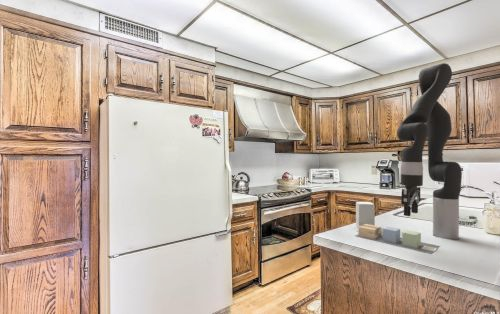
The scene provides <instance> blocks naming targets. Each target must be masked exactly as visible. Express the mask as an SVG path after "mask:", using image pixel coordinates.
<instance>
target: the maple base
mask: <svg viewBox="0 0 500 314" xmlns="http://www.w3.org/2000/svg"><path fill="white" fill-rule="evenodd" d="M358 234H359V236H363V237H367V238H371V239H376V238H378V237H380V236H381V234H382V226H378V225H375V226H374V225H369V224H364V225H361V226H359V229H358Z"/></svg>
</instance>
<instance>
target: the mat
mask: <svg viewBox="0 0 500 314" xmlns="http://www.w3.org/2000/svg"><path fill="white" fill-rule="evenodd" d="M354 237H356V238H362V239H365V240H369V241H374V242H378V243H382V244H386V245H391V246H393V247H398V248H404V249H408V250H412V251H415V252H419V253H424V254H428V255H432V254H433V253H434V252H437V250H438V249H439V248H440V247H441V245H436V244H432V243H427V242H423V241H421V245H420V246H419V247H418V248H413V247H409V246H405V245H402V237H400V241H399V242H397V243H392V242H387V241H383V233H381V236H380V237H378V238H376V239H371V238H367V237H363V236H359V233H358V234H356V235H354ZM424 246H428V247H433V248H437V250H435V251H434V252H433V251H428V250H424V249H422V247H424Z"/></svg>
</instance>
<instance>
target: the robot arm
mask: <svg viewBox="0 0 500 314" xmlns="http://www.w3.org/2000/svg"><path fill="white" fill-rule="evenodd" d="M452 77H453V71H452V67H451V65H449V64H448V63H446V62H444V63H443V62H442V63H437V64H435V65H432V66H428V67H425V68H422V69H421V70H420V71H419V74H418V84H419V90H420V94H421V95H420V96H419V98H417V99H416V101H414V104H413V105H412V107H411V110H410V111H409V114H408V115H407V116H406V117H405V118H404V119H403V121H402V122H401V123H400V124H399V126H398V128H397V131H396V137H397V138H398V140H399V141H402V142H413V144H412V145H410V146H405V147H403V148H402V150H401V163H400V164H401V166H400V185H401V186H405V188H402V189H401V201H400V204H401V205H402V206H403V216H406V217H410V216H412V215H411V213H412V214H418V213H419V205H420V202H421V187H422V186H424V183H423V182H424V181H423V180H424V166H423V151H424V147H425V146H426V145H425V144H426V142H427V152H428V153H427V154H428V155H427V156H428V157H427V161H428V162H427V168H428V169H427V170H428V176H429V179H430V180H432V181H433V182H437V183H438V182H439V183H443V186H442V187H440V188H439V189H435V190H433V192H432V236H434V237H436V238H440V239H445V240H446V239H447V240H451V241H452V240H453V241H454V240H455V241H456V240H458V239H459V236H460V193H461V191H462V190H461V189H462V175H463V174H462V173H463V172H462V167H461V165H460V163H458V162H457V161H456V162H455V161H444V159H443V152H444V148H445V145H446V144H447V142H448V140H449V138H450V136H451V134H452V131H453V130H452V119H451V115H450V113H449V112H448V111H447V109H445V107H444V106H443V105H442V104H441V103H440V102H439V98H441V96H442V94H443V93H444V91H445V90H446V88H447V87H448V85H449V84H450V82H451V80H452Z"/></svg>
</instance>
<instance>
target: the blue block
mask: <svg viewBox="0 0 500 314" xmlns="http://www.w3.org/2000/svg"><path fill="white" fill-rule="evenodd" d="M382 234H383V241H387V242H392V243H397V242H399V241H400V238H401V228H399V227H393V226H389V225H388V226H385V227H384V228H382Z"/></svg>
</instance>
